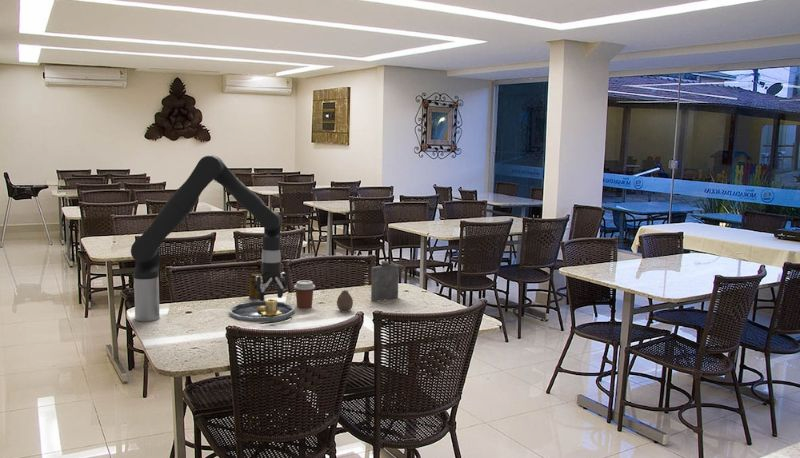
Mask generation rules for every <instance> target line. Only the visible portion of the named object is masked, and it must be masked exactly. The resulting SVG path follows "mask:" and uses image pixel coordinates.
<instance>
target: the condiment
mask: <svg viewBox="0 0 800 458" xmlns="http://www.w3.org/2000/svg"><path fill="white" fill-rule="evenodd" d="M255 276H262V273H251V274H250V276H249V277H250V278H249V281H248V287H249V288H248V289H249V290H248V294H249V296H248V297H249V299H250V300H260V299H259V292H258V291H256V290H254V283H255ZM262 281H263V280H262V279H261V281H260V284H261V282H262Z"/></svg>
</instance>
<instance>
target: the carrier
mask: <svg viewBox="0 0 800 458" xmlns="http://www.w3.org/2000/svg"><path fill="white" fill-rule="evenodd" d="M265 301H266V300H264V301H260V300H259V301H258V300H257V301H255V300H254V301H253V300H252V301H248V302H242V303H237V304H236V305H234V306H232V307H230V308H229V317H232V318H234V319H237V320H238V321H239V320H240V321H247V322H260V323H258V325H268V324H269V325H270V324H277V323H282V322H285V321H288V320H290V319H291V318H293V316H292V315H294V314H295V308H294V306H293V304H292V305H291V304H290V303H286V302H284V301H282V302H281V301H277V311H281V312H282V315H278V316H273V317H262V316H261V312H264V311H265Z"/></svg>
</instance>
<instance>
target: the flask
mask: <svg viewBox="0 0 800 458" xmlns="http://www.w3.org/2000/svg"><path fill="white" fill-rule="evenodd" d="M380 263H381V265H377V266H372V267H371V281H370V282H371V284H370V287H371V292H370V293H371V294H370V302H373V301H375V302H379V301H378V300H380V301H385V300H384V299H387V300H394V299H393V298H397V299H399V276H400V275H399V272H400V271H399V270H400V269H399V268H400V266H399V264H389V260H382V261H381V262H380Z"/></svg>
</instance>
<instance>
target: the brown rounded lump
mask: <svg viewBox="0 0 800 458" xmlns="http://www.w3.org/2000/svg"><path fill="white" fill-rule="evenodd" d="M353 305H354V300H353V297H352V296H351V294H350V293H349V290H348V289H347V290H344V289H343V290H342V291H341V293H340V294H339V295H338V297H337V299H336V306H337V307H336V308H337V309H338V310H339V311H340V312H342V311H347V312H349V310H350V311H351V310H352V308H353Z"/></svg>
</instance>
